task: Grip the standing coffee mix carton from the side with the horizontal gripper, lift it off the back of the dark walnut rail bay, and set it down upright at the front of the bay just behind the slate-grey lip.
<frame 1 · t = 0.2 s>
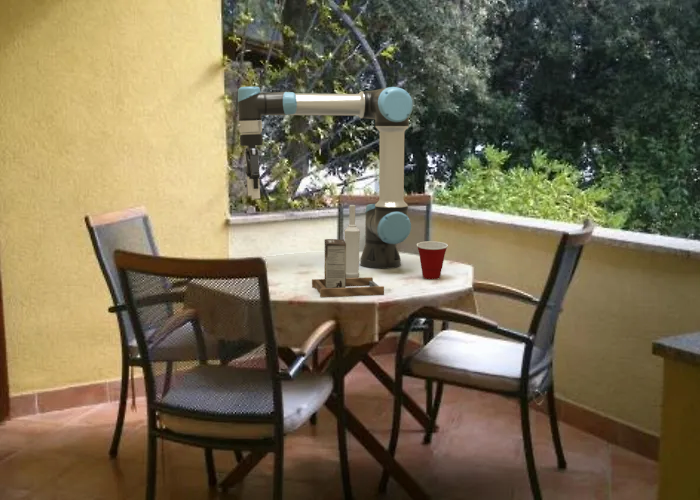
hand: (254, 197, 269), 27 cm above the table, tool pointing down, fingers open, 13 cm apart
bottle: (351, 278, 273), on the table
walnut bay: (347, 290, 252), on the table
coffee box: (334, 292, 252), resting in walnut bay
plastic cup: (431, 278, 274), on the table
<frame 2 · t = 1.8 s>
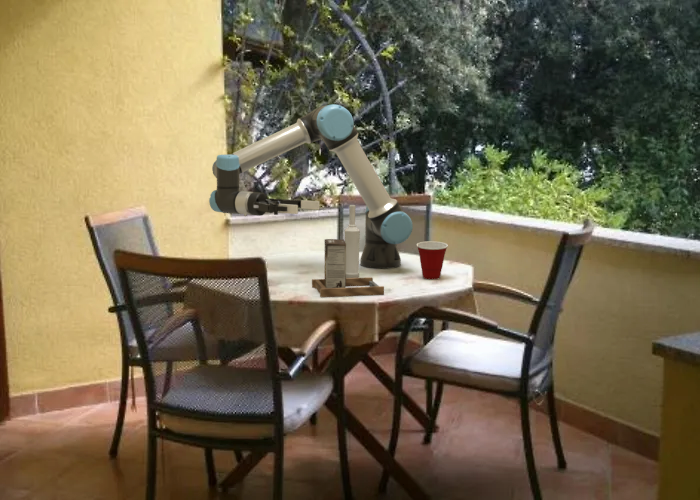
hand: (308, 207, 252), 26 cm above the table, tool horizontal, fingers open, 13 cm apart
nothing on the table moved.
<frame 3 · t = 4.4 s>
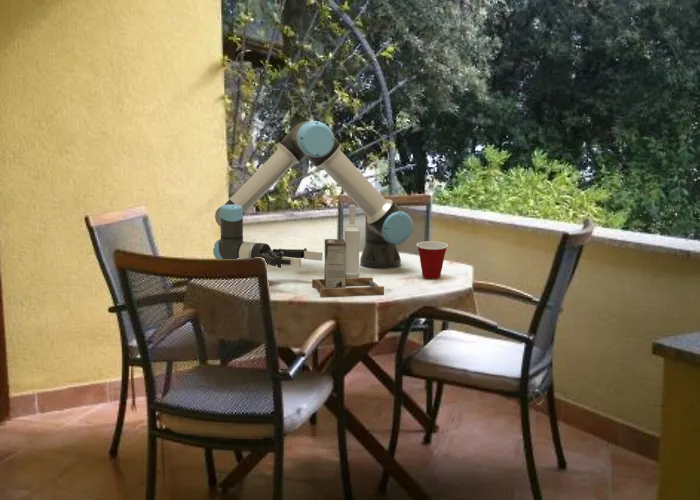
hand: (311, 259, 254), 9 cm above the table, tool horizontal, fingers open, 13 cm apart
nothing on the table moved.
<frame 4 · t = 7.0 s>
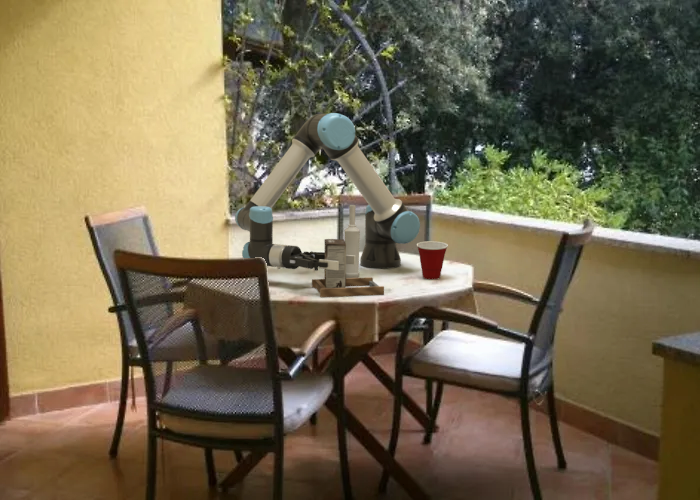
hand: (346, 262, 248), 10 cm above the table, tool horizontal, fingers closed on coffee box, 11 cm apart
coffee box: (334, 291, 252), resting in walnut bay, touching gripper
everything else where it was.
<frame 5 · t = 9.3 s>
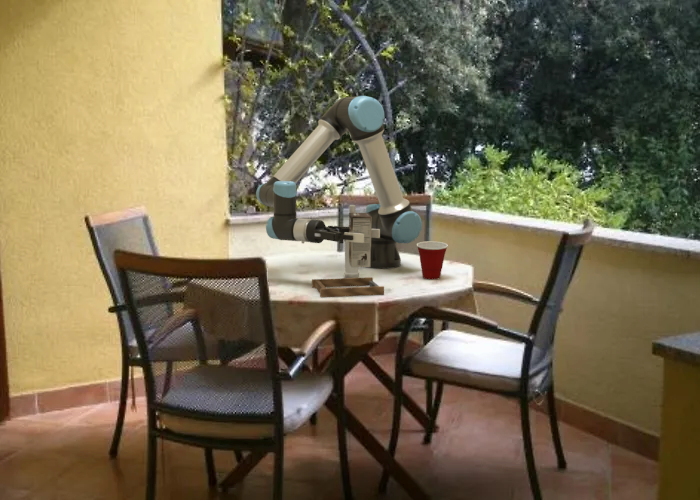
hand: (371, 236, 248), 18 cm above the table, tool horizontal, fingers closed on coffee box, 11 cm apart
coffee box: (359, 265, 252), point 8 cm above the table, touching gripper
everything else where it was.
when the fingers open (11 cm above the table, at t = 11.8 s): coffee box drops 1 cm, resting in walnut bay.
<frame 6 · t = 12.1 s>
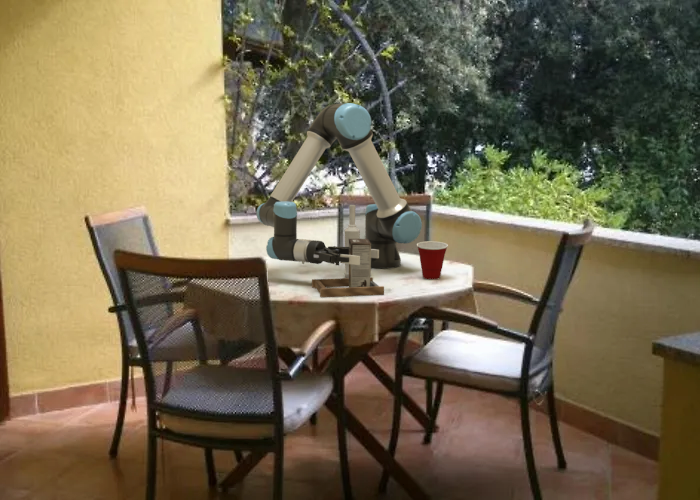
hand: (369, 257, 250), 11 cm above the table, tool horizontal, fingers open, 13 cm apart
coffee box: (359, 291, 253), resting in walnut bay
everything else where it was.
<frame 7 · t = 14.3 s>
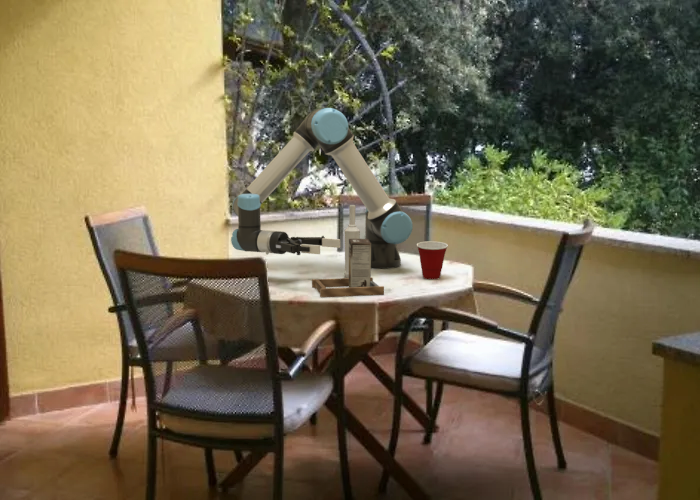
hand: (330, 246, 256), 13 cm above the table, tool horizontal, fingers open, 13 cm apart
nothing on the table moved.
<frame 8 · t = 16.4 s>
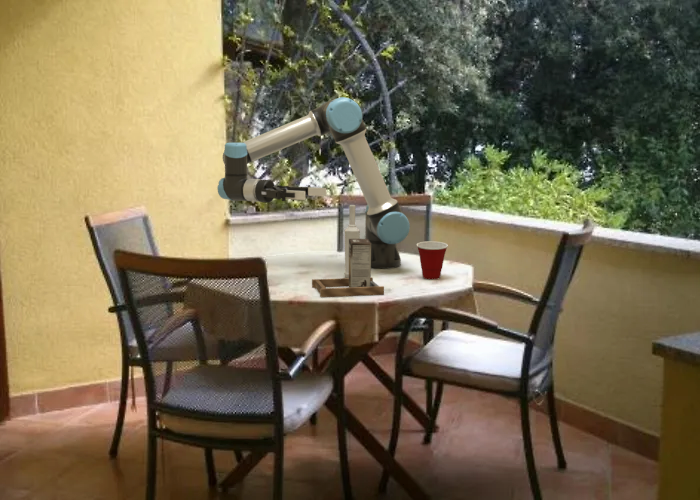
hand: (315, 193, 255), 30 cm above the table, tool horizontal, fingers open, 13 cm apart
nothing on the table moved.
at the end: coffee box inside the target area (0.4 cm from its centre), resting in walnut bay; coffee box tilted 0°; the gripper is holding nothing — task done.
